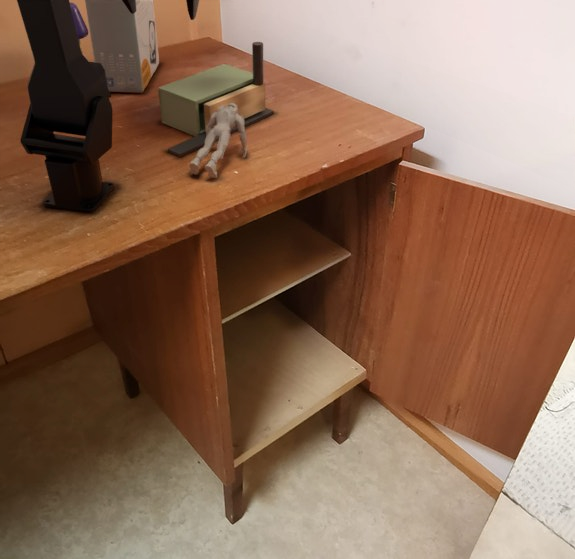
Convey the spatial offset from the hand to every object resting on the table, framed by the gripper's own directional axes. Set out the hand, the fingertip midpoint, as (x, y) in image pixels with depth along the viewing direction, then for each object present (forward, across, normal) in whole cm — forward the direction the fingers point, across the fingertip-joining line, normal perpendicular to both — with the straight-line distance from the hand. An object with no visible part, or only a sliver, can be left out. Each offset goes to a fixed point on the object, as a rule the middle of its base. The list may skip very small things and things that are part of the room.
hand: (163, 15), depth 87 cm
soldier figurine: (+13, -13, +15) cm, 24 cm away
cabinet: (+14, -7, +5) cm, 16 cm away
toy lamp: (+14, +11, +9) cm, 19 cm away
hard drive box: (+16, +13, -10) cm, 23 cm away
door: (+14, -11, +3) cm, 18 cm away
